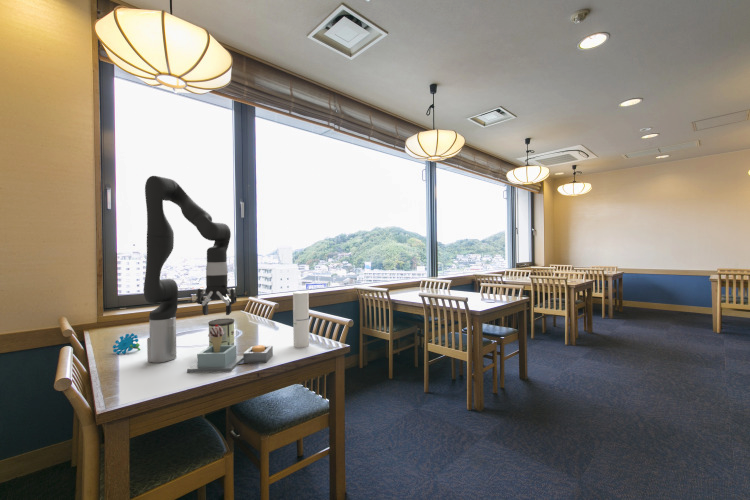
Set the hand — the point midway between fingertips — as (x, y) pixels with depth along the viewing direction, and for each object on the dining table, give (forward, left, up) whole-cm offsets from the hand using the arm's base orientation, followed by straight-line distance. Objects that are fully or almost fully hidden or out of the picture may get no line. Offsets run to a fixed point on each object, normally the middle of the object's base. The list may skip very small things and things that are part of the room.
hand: (217, 314), depth 127 cm
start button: (+14, +6, -18) cm, 23 cm away
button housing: (+14, +6, -20) cm, 25 cm away
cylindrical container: (+28, +24, -20) cm, 42 cm away
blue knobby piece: (-49, +19, -20) cm, 56 cm away
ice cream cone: (0, 0, -19) cm, 19 cm away
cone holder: (0, 0, -20) cm, 20 cm away
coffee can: (-5, +15, -20) cm, 26 cm away
